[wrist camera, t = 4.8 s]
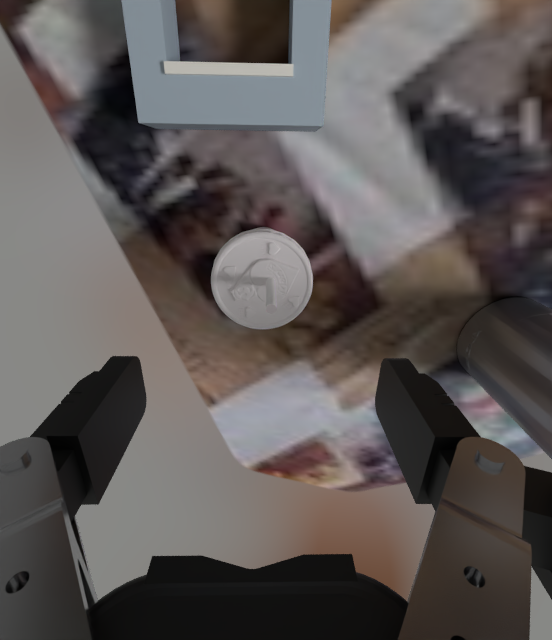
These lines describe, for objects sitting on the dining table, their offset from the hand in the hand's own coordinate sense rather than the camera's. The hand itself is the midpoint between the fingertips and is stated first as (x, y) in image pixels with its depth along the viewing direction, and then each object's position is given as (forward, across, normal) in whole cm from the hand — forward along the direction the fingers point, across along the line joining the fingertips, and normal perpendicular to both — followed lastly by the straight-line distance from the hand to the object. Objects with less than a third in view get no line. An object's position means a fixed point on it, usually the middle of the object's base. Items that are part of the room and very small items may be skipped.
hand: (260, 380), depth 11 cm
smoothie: (+20, 0, 0) cm, 20 cm away
